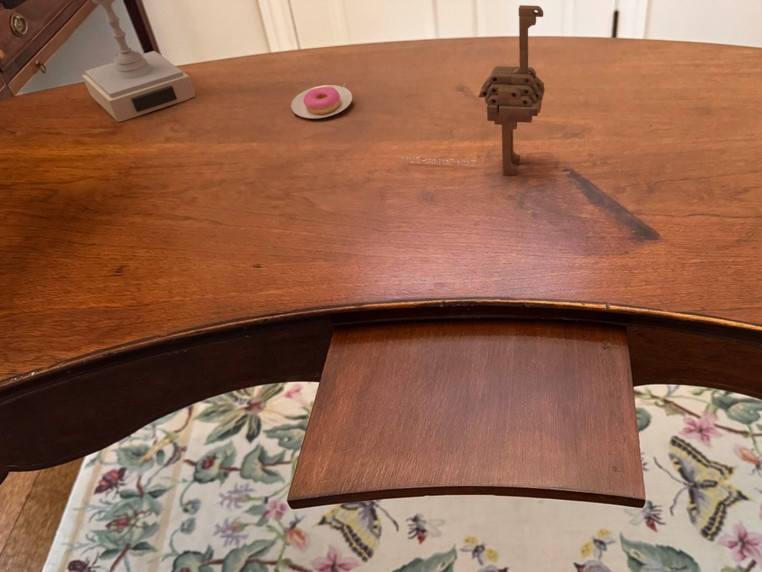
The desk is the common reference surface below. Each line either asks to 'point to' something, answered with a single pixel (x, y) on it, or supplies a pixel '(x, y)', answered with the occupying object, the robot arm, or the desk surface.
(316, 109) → the donut
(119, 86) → the scale
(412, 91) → the desk surface
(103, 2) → the chalice
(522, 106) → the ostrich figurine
